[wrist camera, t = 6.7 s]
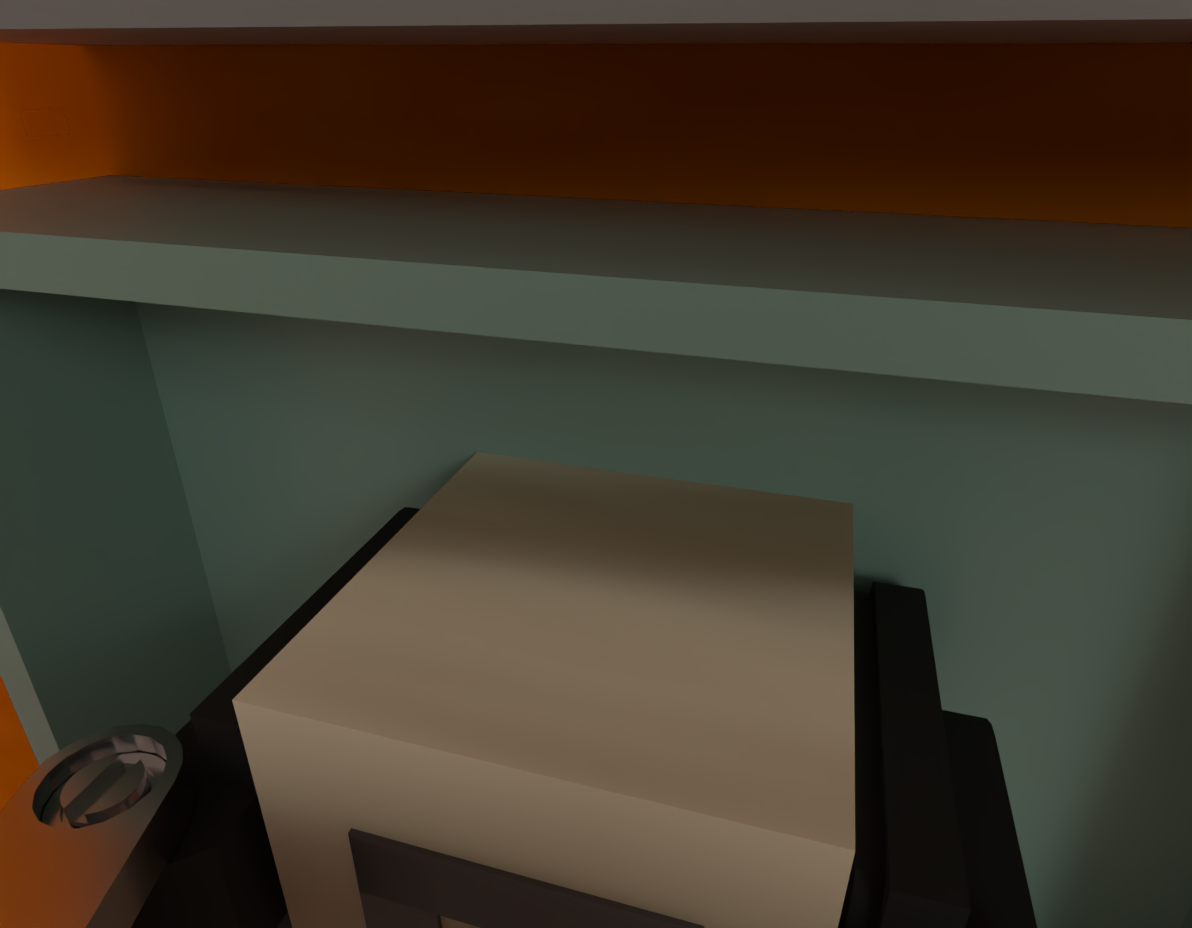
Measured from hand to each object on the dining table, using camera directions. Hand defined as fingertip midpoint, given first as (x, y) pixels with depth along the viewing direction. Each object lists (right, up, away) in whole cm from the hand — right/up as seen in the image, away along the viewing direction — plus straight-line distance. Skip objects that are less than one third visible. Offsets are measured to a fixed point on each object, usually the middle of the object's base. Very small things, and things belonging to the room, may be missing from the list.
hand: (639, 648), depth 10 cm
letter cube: (0, 0, 0) cm, 0 cm away
